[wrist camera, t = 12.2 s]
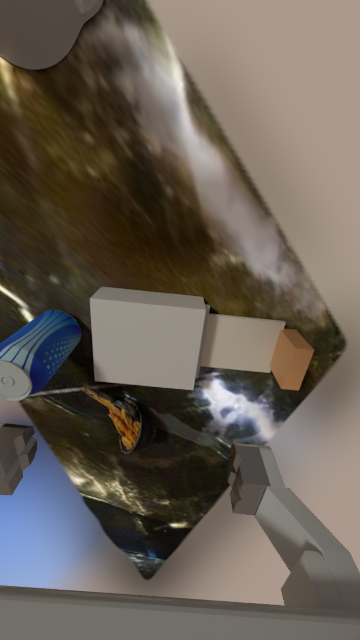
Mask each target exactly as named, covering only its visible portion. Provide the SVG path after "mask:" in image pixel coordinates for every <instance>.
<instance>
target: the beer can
mask: <svg viewBox="0 0 360 640" xmlns="http://www.w3.org/2000/svg"><path fill="white" fill-rule="evenodd" d="M80 339H81V330H80V327H79V325H78V323H77V321H76V320H75V319H74V318H73V317H72V316H71V315H69V314H68V313H65V312H62V311H58V310H49V311H45V312H43V313H42V314H40V315H39V316H38V317H36V318H35V319H33V320H32V321H31V322H29V323H28V324H27V325H25V326H24V327H23V328H21V329H20V330H19V331H17V332H16V333H14V334H13V335H12V336H10V337H9V338H8V339H6V340H5V341H4V342H2V343H1V344H0V399H3V400H7V401H19V400H22V399H24V398H26V397H27V396H28V395H32V394H35V393H37V392H39V391H40V390H41V389H42V388H43V387H44V386H45V385H46V384H47V383H48V381H49V380H50V379H51V377H52V376H53V375H54V374H55V372H56V371H57V370H58V369H59V367H60V366H61V365H62V363H63V362H64V361H65V360H66V358H67V357H68V356H69V355H70V353H71V352H72V351H73V350H74V348H75V347H76V346H77V344H78V343H79V341H80Z"/></svg>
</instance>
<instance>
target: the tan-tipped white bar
mask: <svg viewBox="0 0 360 640" xmlns="http://www.w3.org/2000/svg"><path fill="white" fill-rule="evenodd" d="M285 323H286V322H285V321H280V320H270V319H259V318H249V317H239V316H229V315H219V314H209V316H208V322H207V328H206V334H205V340H204V346H203V352H202V358H201V364H200V366H203V367H214V368H224V369H235V370H246V371H256V372H267V373H270V371H271V370H272V372H273V374H274V376H275V378H276V380H277V381H278V383H279V385H280V387H281V389H291V390H299V388H300V386H301V383H302V381H303V378H304V376H305V373H306V370H307V368H308V365H309V363H310V360H311V358H312V355H313V353H314V349H313V348H312V347H311V346H310V345H309V344H308V343H307V342H306V340H305V339H304V338H303V337H302V336H301V335H300V334H299V333H298V332H297V331H296V330H293V329H284V327H285Z"/></svg>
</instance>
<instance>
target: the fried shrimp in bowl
mask: <svg viewBox="0 0 360 640" xmlns="http://www.w3.org/2000/svg"><path fill="white" fill-rule="evenodd" d="M81 390H82V391H83V392H84V393H85V394H87V395H90V397H93V398H94V399H96V400H98V401H99V402H100V403H102V404H104V405H105V406H107V407H108V408H109V409H110V414H108V415H109V416H110V417H111V419H112V420H113V421H114V424H115V426H116V429H117V430H118V432H119V433H120V447H121V450H122V451H123V452H124V453H125V454H130V453H131V452H133V451H138V450H141V449H142V448H144V447H145V446H146V445H147V444H148V443H152V441H153V439H154V438H155V432H156V425H155V424H152V423H151V421H150V420H149V418H148V417H147V416H146V415H144V414H143V413H141V412H140V411H139V410H138V407H137V406H136V405H135V404H134V403H133V402H132V401H130V400H128V399H126V400H125V401H120V400H116V401H112V402H110V401H109V400H107V399H104V398H103V397H101V396H100V395H99V394H97V393H95V392H94V390H93V389H90V388H89V387H86V386H83V387H82V389H81Z"/></svg>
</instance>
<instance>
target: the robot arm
mask: <svg viewBox="0 0 360 640" xmlns="http://www.w3.org/2000/svg"><path fill="white" fill-rule="evenodd" d="M102 4H103V0H0V56H1V57H2V58H4V59H5V60H7V61H8V62H10V63H12V64H14V65H16V66H19V67H22V68H26V69H34V70H36V69H44V68H48V67H50V66H53V65H55V64H56V63H58V62H59V61H61V60H62V59H63V58H64V57H65V56H66V55H67V54H68V52H69V51H70V50H71V48H72V46H73V45H74V43H75V41H76V39H77V36H78V34H79V32H80V30H81V28H82V26H83V25H84V23H85V22H86V21H88V20H89V19H90V18H91V17H93V16H94V15H95V14H96V13H97V12H98V11H99V10H100V8H101V6H102ZM34 433H35V431H34V428H33V426H25V425H15V424H7V423H0V495H12V494H13V492H14V491H15V489H16V487H17V486H18V484H19V482H20V481H21V479H22V478H23V474H22V471H23V470H24V469H26V468H27V467H28V466H30V464H31V462H32V461H33V459H34V457H35V454H36V451H37V441H36V439H34V437H33V434H34ZM230 450H231V455H230V456H229V457H228V460H227V479H228V483H229V484H230V485H231V487H232V489H231V492H230V498H231V504H232V510H233V513H238V514H247V515H255V518H256V519H257V521H258V522H259V524H260V526H261V527H262V528H263V530H264V532H265V533H266V535H267V536H268V538H269V539H270V541H271V543H272V544H273V546H274V547H275V549H276V550H277V552H278V553H279V555H280V556H281V558H282V559H283V561H284V563H285V564H286V566H287V567H288V569H289V570H290V572H291V573H290V575H289V577H288V578H287V580H286V582H285V583H284V585H283V587H282V588H281V591H282V596H283V600H284V604H285V606H283V605H269V604H255V603H241V602H226V601H213V600H198V599H185V598H170V597H157V596H143V595H128V594H113V593H100V592H86V591H72V590H57V589H43V588H29V587H16V586H2V585H0V640H360V573H359V570H358V568H357V566H356V564H355V562H354V560H353V558H352V556H351V554H350V552H349V551H348V550H347V549H346V548H345V547H344V546H343V545H342V544H341V543H340V542H339V541H338V540H337V539H336V537H335V536H334V535H333V534H332V533H331V532H330V531H329V530H328V529H327V528H326V527H325V526H324V525H323V524H322V522H321V521H320V520H319V519H318V518H317V517H316V516H315V515H314V514H313V513H312V512H311V511H310V510H309V509H308V508H307V507H306V505H305V504H304V503H303V502H302V501H301V500H300V499H299V498H298V497H297V496H296V495H295V494H294V493H293V492H292V491H291V489H290V488H285V485H284V482H283V480H282V477H281V474H280V471H279V469H278V466H277V463H276V461H275V458H274V455H273V453H272V450H271V448H270V447H269V446H256V445H248V444H234V443H233V444H232V446H231V449H230Z"/></svg>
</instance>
